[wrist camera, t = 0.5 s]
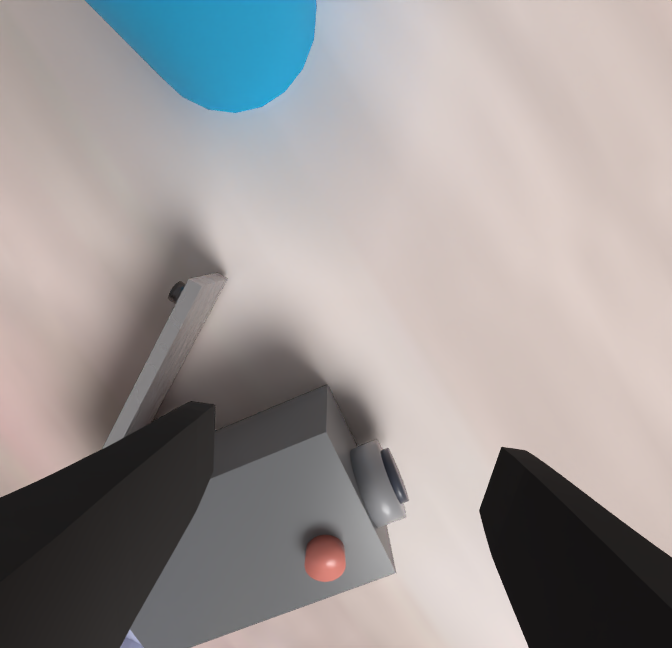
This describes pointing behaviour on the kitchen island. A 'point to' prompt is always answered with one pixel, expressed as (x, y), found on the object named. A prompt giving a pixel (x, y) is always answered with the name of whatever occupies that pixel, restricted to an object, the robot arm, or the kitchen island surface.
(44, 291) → the kitchen island surface
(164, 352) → the side door
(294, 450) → the camera body
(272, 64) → the mug
